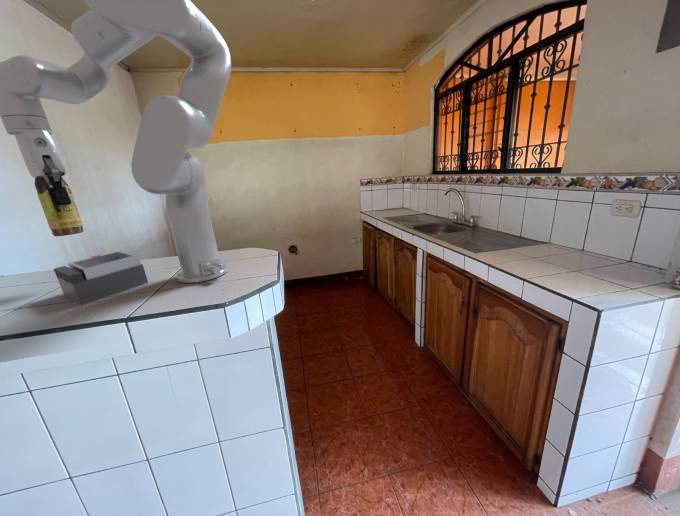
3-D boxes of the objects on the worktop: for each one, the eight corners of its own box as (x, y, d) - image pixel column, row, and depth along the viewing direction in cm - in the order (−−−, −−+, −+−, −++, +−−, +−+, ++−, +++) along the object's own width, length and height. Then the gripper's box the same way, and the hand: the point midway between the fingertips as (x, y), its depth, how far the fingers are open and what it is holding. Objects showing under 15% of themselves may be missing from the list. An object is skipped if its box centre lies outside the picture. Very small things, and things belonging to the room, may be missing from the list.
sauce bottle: (66, 237, 71) (31, 151, 65) (46, 238, 72) (11, 153, 66) (92, 230, 77) (63, 151, 71) (74, 231, 78) (44, 154, 72)
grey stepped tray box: (148, 282, 75) (139, 253, 73) (80, 305, 64) (67, 272, 62) (128, 275, 82) (119, 249, 79) (64, 295, 71) (52, 265, 68)
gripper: (60, 121, 65) (89, 202, 70) (40, 132, 74) (67, 202, 80) (12, 119, 59) (48, 207, 65) (-3, 131, 69) (30, 207, 74)
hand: (58, 204), depth 72 cm, fingers closed on sauce bottle, 6 cm apart
